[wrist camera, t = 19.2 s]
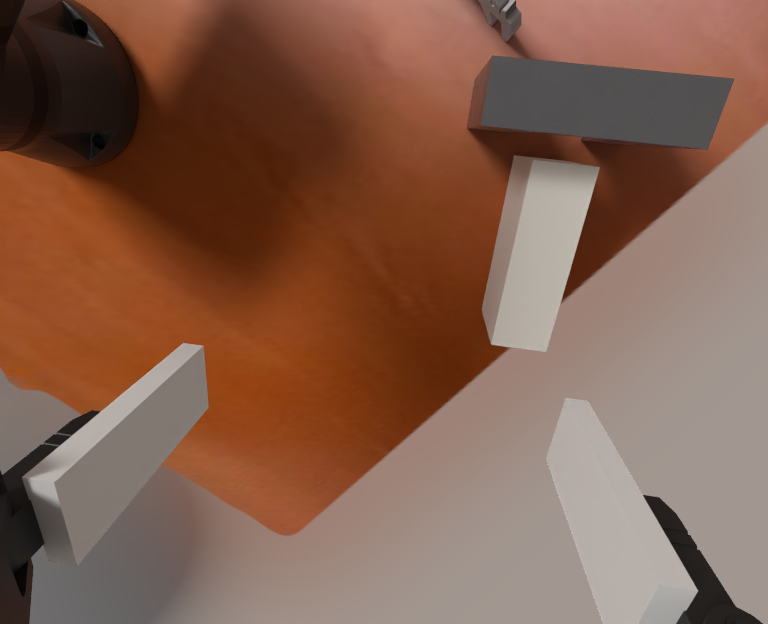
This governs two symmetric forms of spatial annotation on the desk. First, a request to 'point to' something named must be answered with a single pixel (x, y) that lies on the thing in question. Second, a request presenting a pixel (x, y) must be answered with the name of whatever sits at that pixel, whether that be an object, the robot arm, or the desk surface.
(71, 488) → the robot arm
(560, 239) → the plug
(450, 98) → the desk surface
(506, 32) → the caliper
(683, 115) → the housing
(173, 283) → the desk surface
